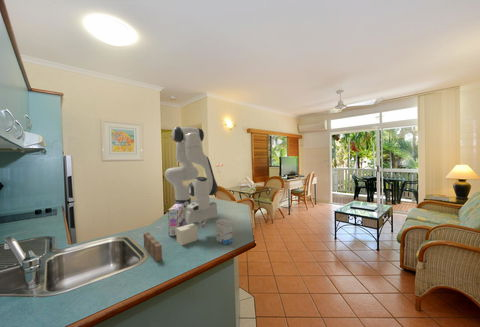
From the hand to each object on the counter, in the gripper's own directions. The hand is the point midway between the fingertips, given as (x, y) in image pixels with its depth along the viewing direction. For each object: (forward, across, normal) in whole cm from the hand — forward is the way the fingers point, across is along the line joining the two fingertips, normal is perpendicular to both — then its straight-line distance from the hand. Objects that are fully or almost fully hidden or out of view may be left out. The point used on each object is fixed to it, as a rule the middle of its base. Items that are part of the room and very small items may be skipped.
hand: (202, 227), depth 116 cm
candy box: (+5, +9, -16) cm, 19 cm away
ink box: (+5, -5, +15) cm, 17 cm away
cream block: (+5, +10, 0) cm, 11 cm away
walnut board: (+5, +29, 0) cm, 29 cm away
